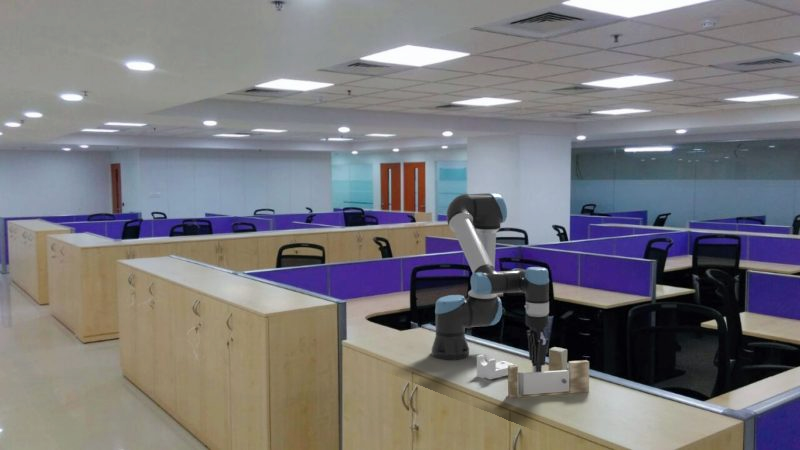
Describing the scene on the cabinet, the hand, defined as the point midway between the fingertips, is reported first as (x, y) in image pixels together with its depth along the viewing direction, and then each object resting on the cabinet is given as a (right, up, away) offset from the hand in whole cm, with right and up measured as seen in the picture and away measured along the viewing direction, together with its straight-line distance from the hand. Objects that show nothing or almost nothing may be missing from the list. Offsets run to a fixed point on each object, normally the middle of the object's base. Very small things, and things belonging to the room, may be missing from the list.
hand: (537, 383), depth 203 cm
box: (+9, -1, +8) cm, 12 cm away
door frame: (+3, -2, -5) cm, 6 cm away
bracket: (-11, -1, +14) cm, 18 cm away
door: (+1, -1, -6) cm, 6 cm away
